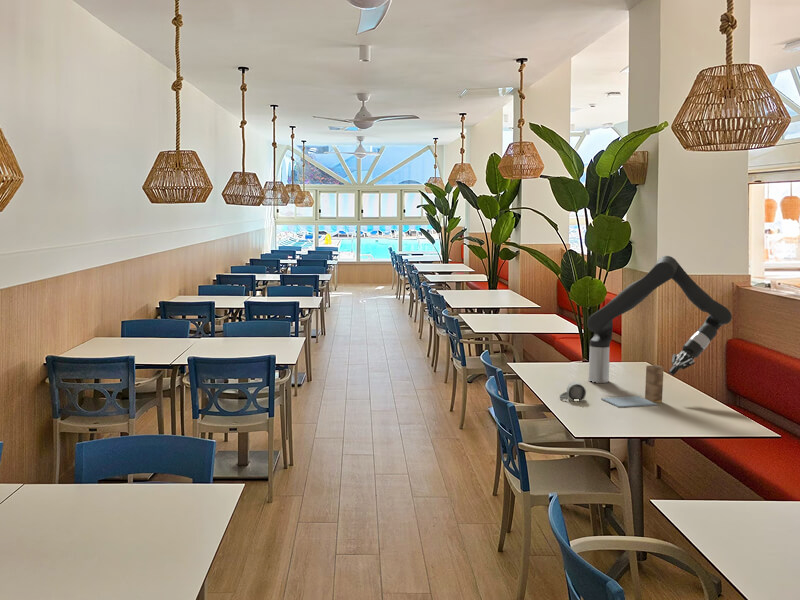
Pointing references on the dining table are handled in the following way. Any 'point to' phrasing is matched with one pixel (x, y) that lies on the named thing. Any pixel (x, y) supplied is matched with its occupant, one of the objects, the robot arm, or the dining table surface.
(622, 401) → the slate mat
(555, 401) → the dining table surface
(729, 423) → the dining table surface
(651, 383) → the walnut block
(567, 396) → the ceramic mug
